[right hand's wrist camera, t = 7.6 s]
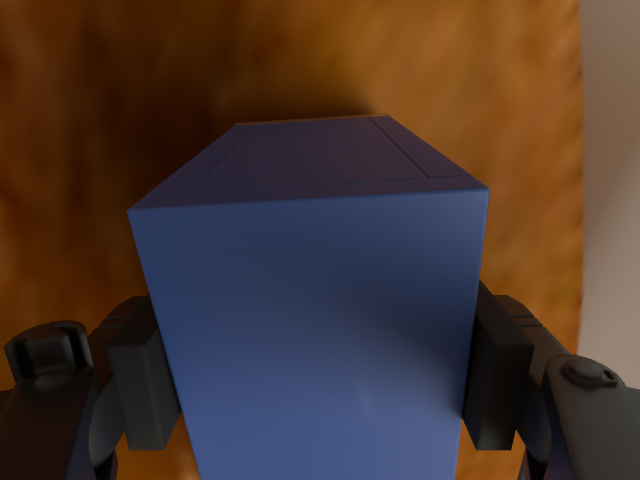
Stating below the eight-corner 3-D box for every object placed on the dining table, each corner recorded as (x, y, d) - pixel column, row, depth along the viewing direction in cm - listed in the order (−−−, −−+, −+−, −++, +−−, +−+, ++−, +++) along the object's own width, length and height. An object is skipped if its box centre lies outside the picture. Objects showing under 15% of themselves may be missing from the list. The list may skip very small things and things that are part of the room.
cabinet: (383, 404, 24) (434, 652, 14) (277, 410, 24) (249, 661, 14) (387, 113, 17) (492, 187, 7) (236, 122, 17) (123, 209, 7)
